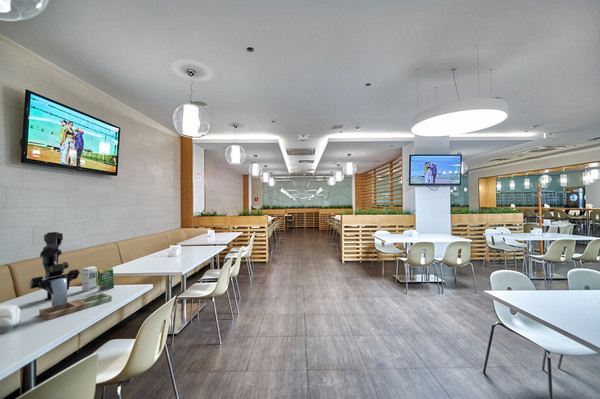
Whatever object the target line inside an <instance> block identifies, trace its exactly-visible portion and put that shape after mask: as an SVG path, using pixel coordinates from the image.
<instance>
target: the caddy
mask: <svg viewBox="0 0 600 399" xmlns="http://www.w3.org/2000/svg"><path fill="white" fill-rule="evenodd" d="M111 301H113V296H112V295H109V294H106V293H104V292H101V293H96V294H92V295H88V296H85V297H81V298H78V299H73V300H70V301H67V303H66V304H63V305H59V306H52V305H51V306H50V307H46V308H42V309H39V310H38V315H39V316H40V317H42V318H44V319H45V320H47V321H49V320H52V319H56V318H59V317H62V316H66V315H69V314H71V313H75V312H79V311H82V310H86V309H88V308H92V307H96V306H98V305H102V304H105V303H107V302H111Z"/></svg>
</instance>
